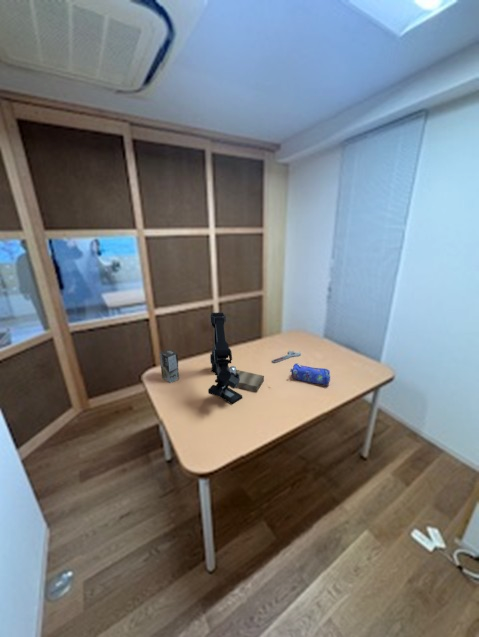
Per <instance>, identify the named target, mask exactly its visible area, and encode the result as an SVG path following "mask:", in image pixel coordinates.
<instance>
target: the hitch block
mask: <svg viewBox="0 0 479 637" xmlns="http://www.w3.org/2000/svg"><path fill="white" fill-rule="evenodd" d="M236 374H239V378H240V381H239V383H238V385H237V386H236V387H235V388H239V389H243V390H245V391H249V392H250V391H251V392H254V393H258V392H259V389H261V386H262V385H263V384H264V381H265V375H262V374H257V373H253V372H249V371H243V370H240V369H236Z"/></svg>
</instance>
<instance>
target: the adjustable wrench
mask: <svg viewBox="0 0 479 637" xmlns="http://www.w3.org/2000/svg"><path fill="white" fill-rule="evenodd" d="M301 354H302V352H301V351H299V352H295V351H294V350H288V351H287V355H284V356H280V357H277V358H275V359H272V360H271V363H274V364H277V363H279V362H282V361H284V360H285V361H286V360H287V359H290V358H294V357H296V358H297V357H301Z"/></svg>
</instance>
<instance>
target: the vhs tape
mask: <svg viewBox="0 0 479 637" xmlns="http://www.w3.org/2000/svg"><path fill="white" fill-rule="evenodd" d="M218 397H220V398H221V396H218ZM221 399H222V400H223V401H226V402H227V403H229V404H230V405H234V404H236V403H238V402H239V401H241V400H242V399H243V395H242V394H241V393H239V392H237V391H235V389H233V388H231V387H229V386H228V387H227V389H226V391H225V395H224V397H223V398H221Z"/></svg>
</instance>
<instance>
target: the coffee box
mask: <svg viewBox="0 0 479 637" xmlns="http://www.w3.org/2000/svg"><path fill="white" fill-rule="evenodd" d="M178 356H179V355H178V353H177V352H175V351H172V350H171V349H166V350H164V351H160V352H159V361H160V370H161V378H162V379H164V380H165V381H167V382H168V383H170V384H171V383H173V382H175V381H178V380H180V377H179V376H180V373H179V372H180V371H179V359H178Z"/></svg>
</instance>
